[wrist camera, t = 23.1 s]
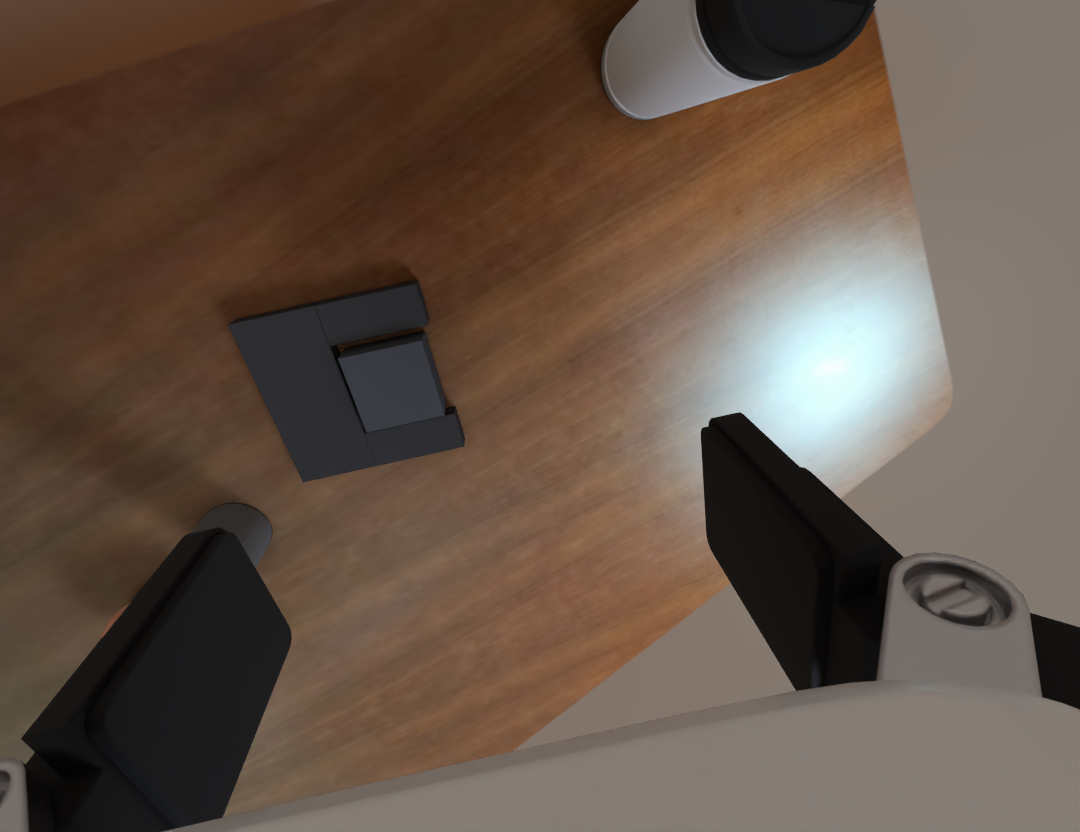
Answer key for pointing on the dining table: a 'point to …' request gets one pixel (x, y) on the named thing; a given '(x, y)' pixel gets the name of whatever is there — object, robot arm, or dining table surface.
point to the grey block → (393, 381)
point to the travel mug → (719, 48)
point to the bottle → (241, 527)
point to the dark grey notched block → (335, 381)
